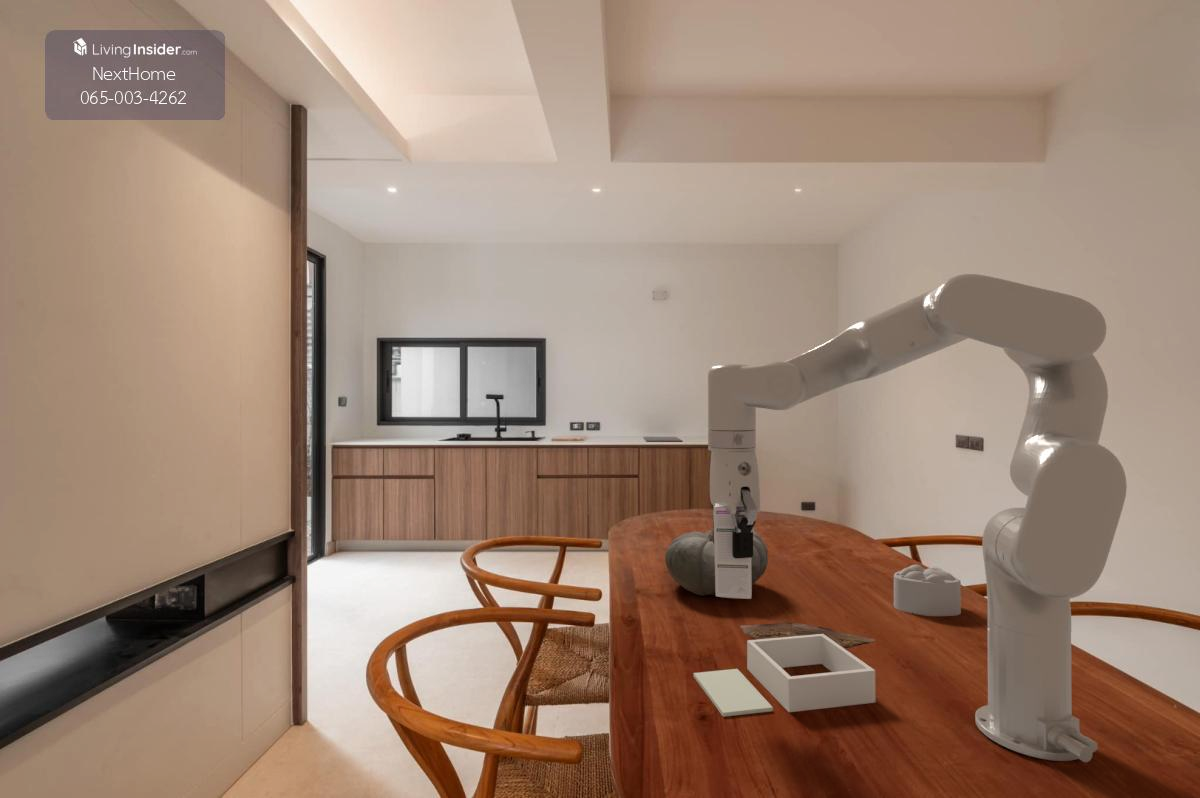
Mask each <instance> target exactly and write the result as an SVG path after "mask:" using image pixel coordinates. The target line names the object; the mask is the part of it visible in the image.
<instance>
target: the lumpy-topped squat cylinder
mask: <svg viewBox="0 0 1200 798" xmlns="http://www.w3.org/2000/svg"><path fill="white" fill-rule="evenodd" d="M961 591H962V589H961V579H959V578H957V577H955V576H954V575H953V574H951V573H949V572H947V571H944V570H942V569H941V568H939V567H935V566H933V567H929V568H926V569H925V568H924V567H923V566H921V565H920V564H912V565H910V566H908V567H904V568H903V569H902V570H898V571H896V572H894V575H893V608H895V609H897V610H898V611H901V612H904V613H908V614H912V613H913V614H912V615H919V616H924V617H925V616H926V617H951V616H952V617H953V616H959V615H961V614H962V605H961V604H962V592H961Z"/></svg>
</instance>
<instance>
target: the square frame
mask: <svg viewBox="0 0 1200 798" xmlns="http://www.w3.org/2000/svg"><path fill="white" fill-rule="evenodd" d="M746 649H747V651H746V652H747V653H746V654H747V655H746V658H747V659H746V660H747V663H746V666H747V670H748V671H749V673H751V675H752V676H753V677H754V678H755V679H756V680H757V681H758V682H759V683H760V684H761V685H762V686H763V687H764V688H765V689H766V691H768V692H769V693H770V694H771V696H772V697H774V698H775V700H776V701H777V702H778V703H779V704H780V705H781V706H782V707H783V708H784V709H785V710H786V711H787V712H788V713H795V712H804V711H812V710H819V709H820V710H822V709H830V708H831V709H832V708H839V707H840V708H841V707H846V706H856V705H865V704H874V703H876V670H875V669H874V668H872V667H871V666H869V665H868V664H867V663H865V662H864V661H863V660H862V659H860V658H858V657H857V656H856V655H854V654H853V653H851V652H850V651H849V650H847V649H846V648H843V647H841V646H840V645H838V644H837V643H836V642H834V641H833V640H831V639H830V638H828V637H827V636H826V635H824V634H815V635H803V636H792V637H781V638H770V639H758V640H756V639H749V640H746ZM813 665H822V666H824V667H825V668H826V669H827V670H828V671H829V672H821V673H811V674H803V675H800V674H799V675H792V676H791V675H790V674H789V672H787V671H786V670H785V669H784V668H793V667H803V666H805V667H806V666H813Z"/></svg>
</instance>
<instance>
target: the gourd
mask: <svg viewBox="0 0 1200 798" xmlns="http://www.w3.org/2000/svg"><path fill="white" fill-rule="evenodd" d="M768 554H769V550H768V545H767V544H766V543H765V541H764V540H763V538H762V537H761V536H760V535H759V534H758V533H757V532H755V531H754V532H753V557H751V576H752V586H754V585H755V584H756V582H757V581H758V580H759V579H760V578H761V577H762V576H763V575H764V574H765V572H766V569H767V566H768V563H769V559H768V558H769V555H768ZM664 557H665V565H666V569H667V572H668V573H669V575H670V576H671V578H672V579H673V580H674V581H675V582H676V583H677V584H678V585H679V586H680V587H682V588H684V589H685V590H687V591H688V592H691V593H692V594H695V595H698V596H709V595H711V596H712V595H715V557H714V544H713V529H711V530H708V531H707V532H705V533H703V532H700V531H690V532H686V533H683V534H681V535H679V536H677V537H676V538H674V539H673V540H672V541H671V542H670V544H669V547H668V548H667V549H666V551H665V556H664Z"/></svg>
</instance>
